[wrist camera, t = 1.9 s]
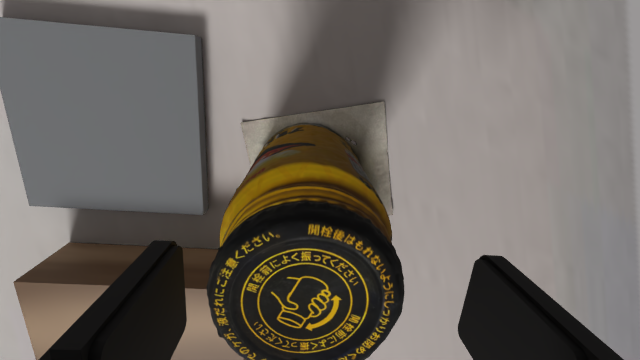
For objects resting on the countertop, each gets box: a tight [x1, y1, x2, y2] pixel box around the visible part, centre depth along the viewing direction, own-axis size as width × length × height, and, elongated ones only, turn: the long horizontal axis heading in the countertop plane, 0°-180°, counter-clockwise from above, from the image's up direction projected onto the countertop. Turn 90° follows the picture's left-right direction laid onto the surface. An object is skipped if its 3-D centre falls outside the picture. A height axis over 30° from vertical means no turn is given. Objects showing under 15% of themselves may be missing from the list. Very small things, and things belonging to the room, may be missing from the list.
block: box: [14, 243, 246, 360], centre depth 20 cm, size 12×12×4 cm
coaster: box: [0, 17, 208, 215], centre depth 17 cm, size 10×10×1 cm
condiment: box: [206, 102, 404, 360], centre depth 13 cm, size 7×8×12 cm
